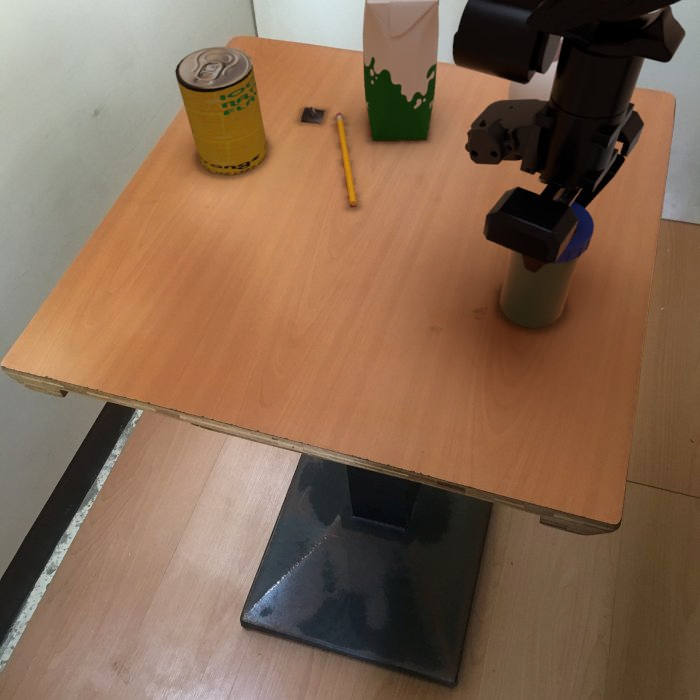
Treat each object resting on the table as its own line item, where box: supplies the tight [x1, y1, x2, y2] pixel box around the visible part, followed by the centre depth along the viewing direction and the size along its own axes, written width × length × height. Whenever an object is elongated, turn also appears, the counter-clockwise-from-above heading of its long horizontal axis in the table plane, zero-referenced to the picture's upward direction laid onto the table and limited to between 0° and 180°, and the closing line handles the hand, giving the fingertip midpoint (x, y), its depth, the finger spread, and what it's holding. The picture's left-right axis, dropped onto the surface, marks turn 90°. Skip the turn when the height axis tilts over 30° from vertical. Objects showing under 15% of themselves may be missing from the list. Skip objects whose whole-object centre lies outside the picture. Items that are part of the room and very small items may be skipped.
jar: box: [499, 250, 582, 329], centre depth 63 cm, size 6×6×11 cm
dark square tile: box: [300, 106, 326, 124], centre depth 88 cm, size 3×3×1 cm
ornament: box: [507, 38, 563, 101], centre depth 80 cm, size 10×10×12 cm
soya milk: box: [362, 0, 440, 141], centre depth 79 cm, size 9×9×20 cm
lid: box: [555, 197, 595, 263], centre depth 59 cm, size 7×7×2 cm
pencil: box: [335, 112, 357, 207], centre depth 82 cm, size 1×18×1 cm, turn 6°
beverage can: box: [174, 46, 269, 176], centre depth 80 cm, size 9×9×12 cm
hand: (547, 247), depth 60 cm, fingers closed on lid, 6 cm apart
